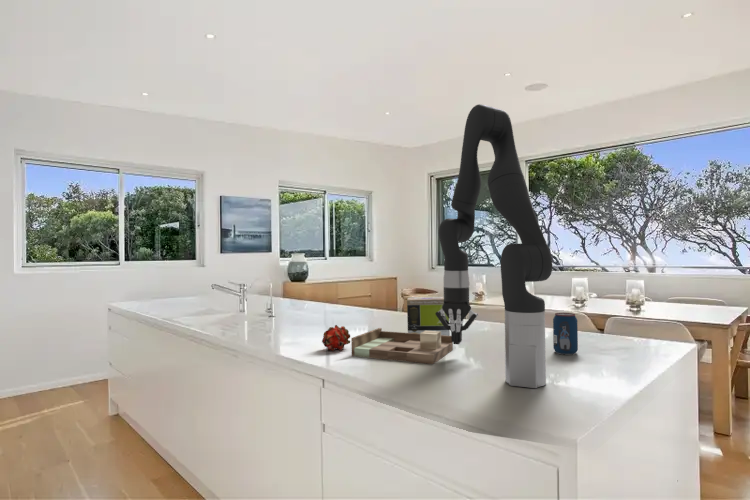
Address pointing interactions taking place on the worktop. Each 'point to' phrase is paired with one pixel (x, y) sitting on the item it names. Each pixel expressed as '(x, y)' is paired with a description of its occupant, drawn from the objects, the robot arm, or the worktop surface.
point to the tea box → (425, 315)
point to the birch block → (430, 339)
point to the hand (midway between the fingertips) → (456, 343)
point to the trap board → (398, 347)
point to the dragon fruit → (336, 338)
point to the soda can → (565, 333)
